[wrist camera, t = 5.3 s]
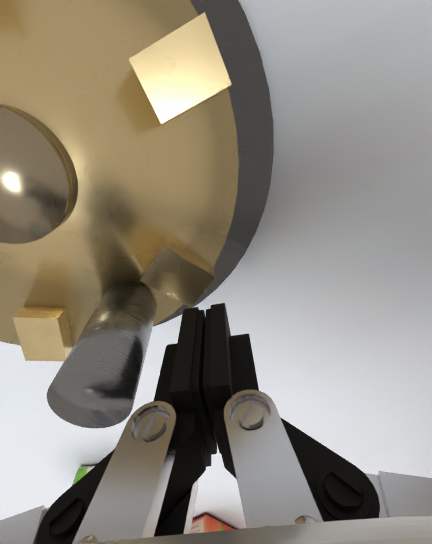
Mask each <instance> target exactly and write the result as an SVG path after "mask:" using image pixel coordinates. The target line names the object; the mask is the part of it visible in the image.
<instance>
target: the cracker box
mask: <svg viewBox="0 0 432 544" xmlns="http://www.w3.org/2000/svg"><path fill="white" fill-rule="evenodd" d="M224 530H235V529H233V528H231V527H229V526H227V525H226V524H224V523H222V522H220V521H218V520H216V519H214V518H212V517H210V516H209V515H204V516H202V517H200V518H198V519H196V520H193V521H192V525H191V530H190V534H191V533H202V532H213V531H224Z"/></svg>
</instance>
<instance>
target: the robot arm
mask: <svg viewBox="0 0 432 544" xmlns="http://www.w3.org/2000/svg"><path fill="white" fill-rule="evenodd" d="M217 445H218V449H219V452H220V453H221V455H222V459H223V462H224V466H225V469H227V470H228V471H229V472H230V473H231V474H232V475H233V476H234V477H235V478H236V479H237V482H238V487H239V492H240V497H241V502H242V506H243V511H244V516H245V521H246V526H247V529H235V530H224V531H213V532H202V533H191V534H190V530H191V525H192V519H193V513H194V508H195V502H196V496H197V491H198V478H199V477H200V476H201V475H202V474H203V473H204V471H205V470H206V467H207V466H211V454H216V453H217ZM0 544H432V478H425V477H418V476H410V475H403V474H396V473H388V472H381V471H379V472H378V475H373V474H366V473H363V472H362V471H361V470H360V469H359V468H357V467H356V466H355V465H353V464H352V463H350V462H348V461H347V460H345V459H344V458H342V457H341V456H339V455H338V454H336V453H335V452H333V451H331V450H330V449H328V448H327V447H325V446H324V445H322V444H321V443H319V442H318V441H316V440H314V439H313V438H311V437H310V436H308V435H307V434H305V433H304V432H302V431H301V430H299V429H297V428H296V427H294V426H293V425H291V424H290V423H288V422H287V421H285V420H284V419H282V418H280V416H279V413H278V411H277V409H276V406H275V404H274V402H273V401H272V399H271V398H270V397H269V396H268V395H266V394H265V393H263V392H261V391H259V389H258V383H257V377H256V372H255V366H254V360H253V354H252V349H251V343H250V337H249V334H242V335H235V336H231V334H230V328H229V323H228V317H227V312H226V307H225V303H221V304H215V305H211V309H206V317H205V313H204V310H199V309H198V307H194V308H188V309H184V310H183V315H182V321H181V326H180V332H179V338H178V343H177V344H170V345H167V346H166V349H165V354H164V358H163V363H162V367H161V371H160V376H159V380H158V384H157V389H156V393H155V398H154V402H150V403H147V404H145V405H143V406H142V407H140V408H139V409H137V410H136V411H135V412H134V413H133V414H132V416H131V417H130V419H129V420H128V422H127V424H126V426H125V429H124V431H123V433H122V435H121V437H120V440H119V442H118V444H117V446H116V448H115V449H114V450H113V451H112V452H111V453H110V454H108V455H107V456H106V457H105V458H104V459H103V460H102V461H100V462H99V463H98V464H97V465H96V466H95V467H94V468H92V469H91V470H90V471H89V472H88V473H87V474H85V475H84V476H83V477H82V478H81V479H80V480H79V481H77V482H76V483H75V484H74V485H73V486H72V487H70V488H69V489H68V490H67V491H66V492H65V493H64V494H62V495H61V496H60V497H59V498H58V499H57V500H56V501H55V502H54V503H53V504H52V505H51V507H50V508H47V509H46V508H45V507H44V505H43V506H40V507H37V508H35V509H32V510H29V511H26V512H23V513H21V514H18V515H15V516H12V517H9V518H7V519H4V520H1V521H0Z"/></svg>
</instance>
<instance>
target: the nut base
mask: <svg viewBox="0 0 432 544" xmlns="http://www.w3.org/2000/svg"><path fill="white" fill-rule="evenodd" d="M190 1H191V3H192V5H193V6H194V8H195V10H196V12H197V13H198V15H201V14H203V13H204V12H205V14H206V17H207V20H208V22H209V25H210V28H211V30H212V33H213V36H214V38H215V41H216V44H217V46H218V49H219V52H220V54H221V57H222V60H223V62H224V65H225V68H226V70H227V73H228V76H229V78H230V81H231V84H232V85H231V87H230V88H229V89H228V91H229V94H230V99H231V105H232V110H233V115H234V120H235V125H236V132H237V145H238V158H239V168H238V189H237V197H236V202H235V208H234V214H233V219H232V222H231V225H230V229H229V232H228V235H227V238H226V241H225V244H224V246H223V248H222V250H221V252H220V255H219V257H218V259H217V261H216V263H215V265H214V266H213V267H214V269H215V277H214V279H213V280H212V281H211V283H210V284H209V285H208V286H207V288H206V289H205V290H204V292H203V293H202V294H201V296H200V297H199V298H198V300H197V301H196V302H195V304H194V305H193V306H192V307H194V306H195V305H197V304H199V303H200V302H201V301H203V300H204V299H205V298H206V297H207V296H209V295H210V294H211V293H212V292H213V291H214V290H216V289H217V288H218V287H219V286H220V284H221V283H222V282H223V281H224V280H225V279H226V278H227V277H228V276H229V275H230V274H231V272H232V271H233V269H234V268H235V267H236V265H237V264H238V262H239V261H240V260H241V258H242V257H243V255H244V254H245V252H246V250H247V248H248V246H249V244H250V242H251V240H252V238H253V237H254V235H255V232H256V230H257V227H258V224H259V222H260V219H261V216H262V214H263V211H264V207H265V203H266V199H267V195H268V190H269V186H270V180H271V171H272V162H273V119H272V111H271V103H270V96H269V88H268V84H267V80H266V76H265V72H264V68H263V64H262V60H261V56H260V52H259V50H258V47H257V44H256V42H255V39H254V36H253V34H252V31H251V28H250V26H249V23H248V20H247V18H246V15H245V13H244V11H243V9H242V7H241V5H240V3H239V1H238V0H190ZM192 307H191V308H192ZM188 308H190V307H188V306H187V305H185V304H183V305H182V306H181V307H179V308H178V309H177V310H176V311H175V312H174V313H173V314H171V315H170V316H168V317H167V318H165V319H164V320H162V321H161V322H159V323H158V324H156V325H159V324H162V323H164V322H167V321H169V320H171V319H173V318H175V317H177V316H179V315H181V314H183V310H184V309H188ZM156 325H154V326H156Z"/></svg>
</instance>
